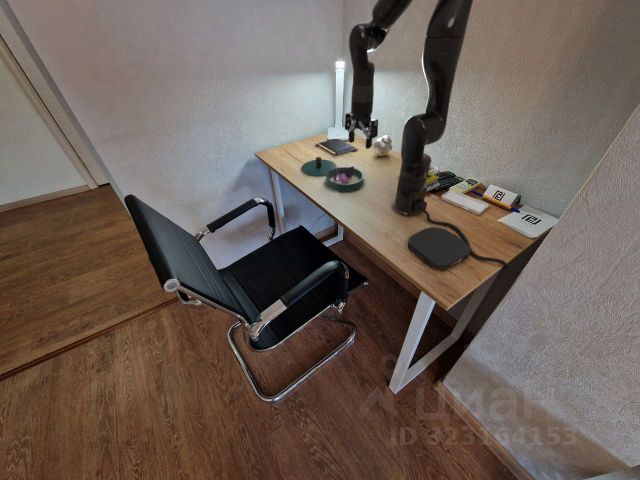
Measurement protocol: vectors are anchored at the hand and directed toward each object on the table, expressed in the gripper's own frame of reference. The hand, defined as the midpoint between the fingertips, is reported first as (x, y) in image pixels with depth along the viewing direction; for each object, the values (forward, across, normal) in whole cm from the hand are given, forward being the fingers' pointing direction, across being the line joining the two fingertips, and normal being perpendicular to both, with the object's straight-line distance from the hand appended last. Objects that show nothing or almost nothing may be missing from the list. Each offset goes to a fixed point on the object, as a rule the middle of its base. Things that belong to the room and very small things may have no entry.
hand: (359, 145), depth 100 cm
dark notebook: (+18, -37, +22) cm, 46 cm away
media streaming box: (+18, +44, -11) cm, 49 cm away
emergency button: (+18, +16, +21) cm, 32 cm away
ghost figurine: (+18, -12, +31) cm, 38 cm away
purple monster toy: (+18, -6, -2) cm, 19 cm away
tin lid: (+17, -24, -1) cm, 30 cm away
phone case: (+18, +37, +19) cm, 45 cm away
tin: (+18, -6, -2) cm, 19 cm away
